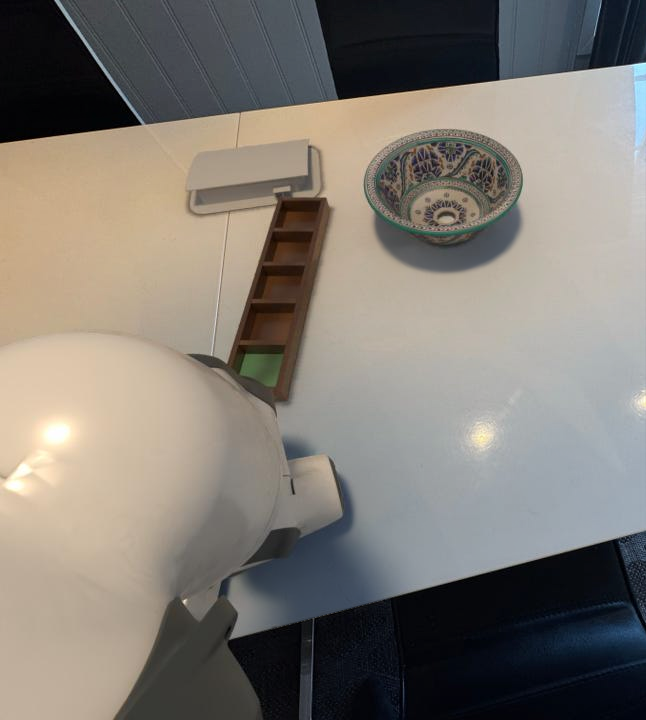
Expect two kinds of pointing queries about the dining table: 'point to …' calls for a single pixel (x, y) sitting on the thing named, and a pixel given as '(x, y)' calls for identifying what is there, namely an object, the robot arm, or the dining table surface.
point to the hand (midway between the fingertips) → (54, 577)
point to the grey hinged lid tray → (252, 176)
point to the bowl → (443, 184)
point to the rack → (281, 294)
